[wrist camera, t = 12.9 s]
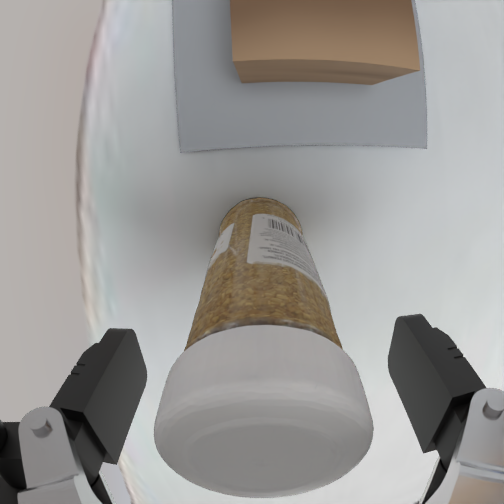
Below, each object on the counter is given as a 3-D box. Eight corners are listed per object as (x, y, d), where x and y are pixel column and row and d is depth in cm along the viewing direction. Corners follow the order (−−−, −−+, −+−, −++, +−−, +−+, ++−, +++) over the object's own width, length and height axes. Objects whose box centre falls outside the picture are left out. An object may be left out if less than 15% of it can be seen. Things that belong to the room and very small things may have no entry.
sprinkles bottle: (204, 224, 18) (102, 430, 5) (275, 179, 17) (320, 346, 4) (249, 287, 19) (235, 514, 6) (317, 248, 18) (401, 465, 5)
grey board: (181, -43, 12) (172, -59, 10) (390, -40, 11) (402, -54, 9) (189, 149, 16) (180, 152, 14) (410, 145, 16) (427, 148, 14)
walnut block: (235, -26, 11) (226, -81, 6) (359, -22, 10) (395, -67, 6) (241, 83, 13) (233, 61, 8) (371, 85, 13) (420, 70, 8)
